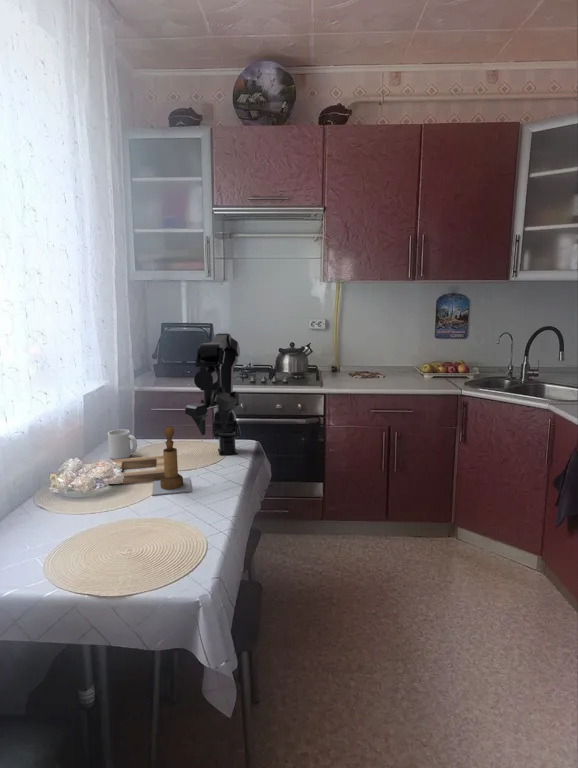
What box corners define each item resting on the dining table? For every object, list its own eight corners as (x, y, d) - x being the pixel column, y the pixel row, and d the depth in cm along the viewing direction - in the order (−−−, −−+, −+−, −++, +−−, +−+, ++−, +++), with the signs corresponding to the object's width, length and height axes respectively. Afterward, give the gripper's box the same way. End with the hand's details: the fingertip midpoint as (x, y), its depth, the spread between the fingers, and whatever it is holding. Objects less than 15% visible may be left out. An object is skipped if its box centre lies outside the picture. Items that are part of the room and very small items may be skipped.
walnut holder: (114, 466, 173) (113, 459, 173) (166, 462, 177) (165, 455, 176) (108, 485, 157) (108, 477, 156) (166, 479, 161) (166, 472, 160)
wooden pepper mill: (171, 491, 150) (168, 431, 147) (155, 487, 154) (152, 428, 151) (187, 483, 156) (184, 425, 153) (172, 479, 159) (168, 423, 156)
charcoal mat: (153, 482, 159) (153, 481, 159) (189, 478, 161) (189, 477, 161) (152, 495, 148) (152, 494, 148) (191, 492, 151) (191, 490, 151)
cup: (114, 453, 188) (112, 429, 186) (141, 453, 187) (140, 429, 185) (106, 459, 180) (104, 435, 179) (134, 460, 180) (132, 435, 178)
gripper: (208, 391, 151) (210, 442, 154) (250, 381, 166) (252, 429, 169) (182, 387, 158) (185, 436, 160) (225, 378, 172) (227, 424, 175)
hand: (213, 431), depth 166 cm, fingers open, 9 cm apart
